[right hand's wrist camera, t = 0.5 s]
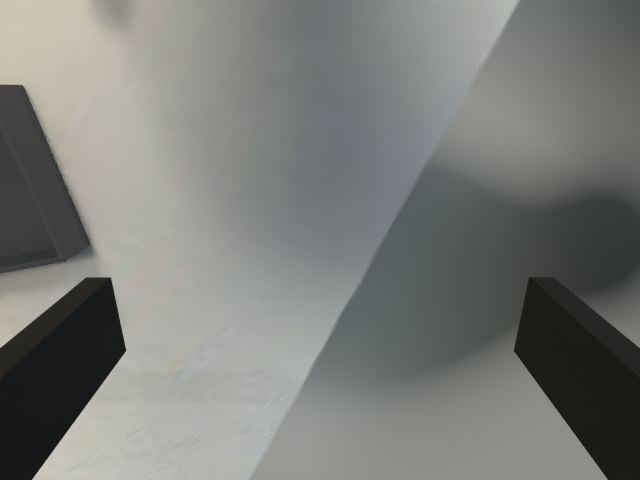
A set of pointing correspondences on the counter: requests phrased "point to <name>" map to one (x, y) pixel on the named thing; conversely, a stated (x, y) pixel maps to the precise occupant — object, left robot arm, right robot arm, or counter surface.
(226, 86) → the counter surface
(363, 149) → the counter surface
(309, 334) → the counter surface
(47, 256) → the tray
